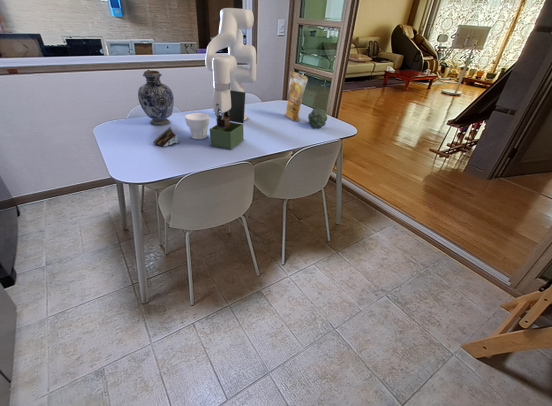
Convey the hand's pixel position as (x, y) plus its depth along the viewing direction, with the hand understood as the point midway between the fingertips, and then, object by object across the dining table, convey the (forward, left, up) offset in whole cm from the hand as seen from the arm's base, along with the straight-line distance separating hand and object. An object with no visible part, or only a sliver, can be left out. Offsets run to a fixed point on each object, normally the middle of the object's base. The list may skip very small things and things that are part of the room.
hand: (223, 124), depth 143 cm
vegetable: (+26, +59, -11) cm, 65 cm away
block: (0, 0, -1) cm, 1 cm away
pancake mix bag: (+7, +65, -11) cm, 66 cm away
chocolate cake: (-23, -16, -11) cm, 30 cm away
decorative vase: (-51, +4, -11) cm, 53 cm away
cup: (-18, +1, -11) cm, 21 cm away
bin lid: (-2, +11, +6) cm, 13 cm away
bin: (-1, +3, -11) cm, 11 cm away
